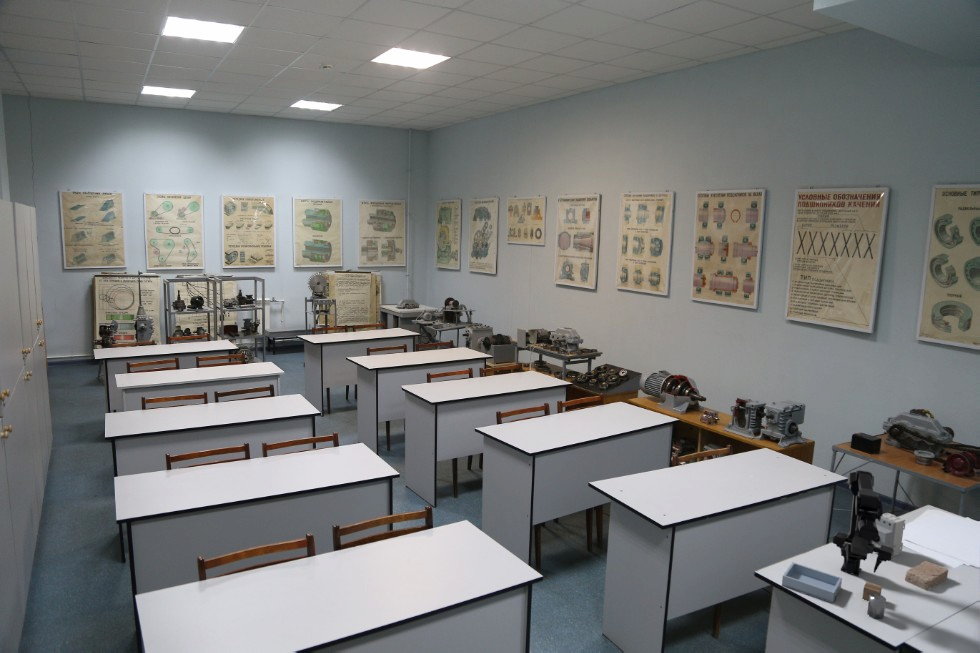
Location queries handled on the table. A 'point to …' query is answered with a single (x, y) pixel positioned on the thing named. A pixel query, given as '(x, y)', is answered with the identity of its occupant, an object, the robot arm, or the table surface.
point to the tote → (812, 582)
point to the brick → (926, 575)
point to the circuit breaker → (890, 532)
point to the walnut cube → (871, 590)
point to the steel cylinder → (876, 606)
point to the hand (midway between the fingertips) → (860, 567)
